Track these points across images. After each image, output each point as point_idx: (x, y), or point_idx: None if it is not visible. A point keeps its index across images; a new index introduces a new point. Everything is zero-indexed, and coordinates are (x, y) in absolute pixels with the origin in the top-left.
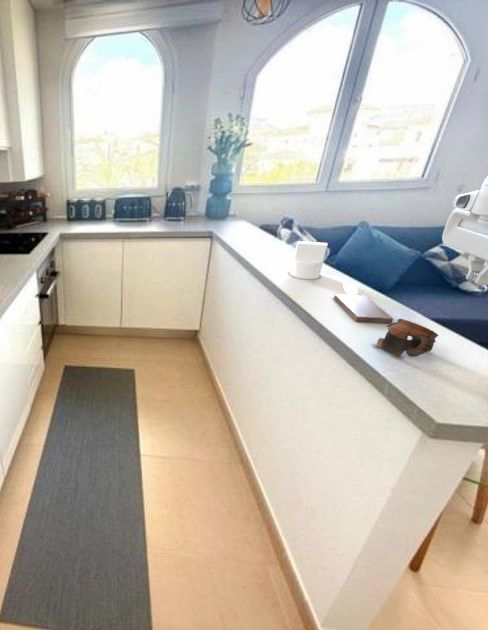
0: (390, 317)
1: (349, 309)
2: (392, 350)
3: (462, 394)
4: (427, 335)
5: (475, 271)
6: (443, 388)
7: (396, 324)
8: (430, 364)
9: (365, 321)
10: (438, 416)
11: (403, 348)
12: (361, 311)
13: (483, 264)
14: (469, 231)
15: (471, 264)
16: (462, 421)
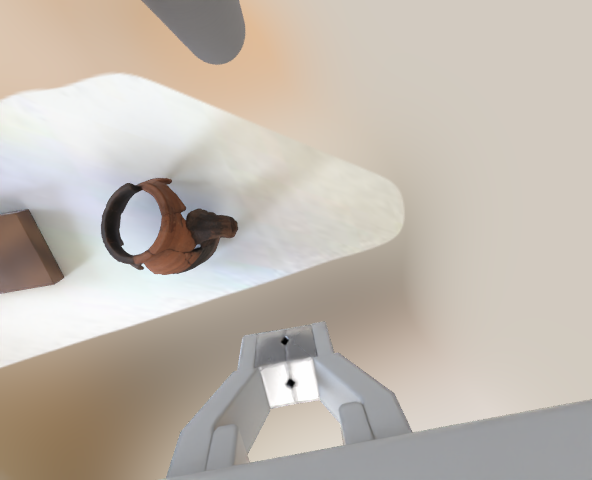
0: (10, 217)
1: (8, 291)
2: (212, 252)
3: (324, 177)
4: (181, 216)
5: (266, 396)
6: (313, 199)
7: (151, 268)
8: (225, 191)
9: (54, 261)
10: (398, 232)
11: (214, 243)
12: (8, 271)
13: (234, 411)
14: None
15: (248, 451)
16: (403, 206)
